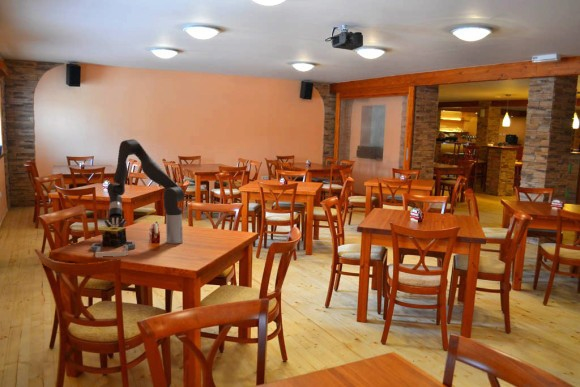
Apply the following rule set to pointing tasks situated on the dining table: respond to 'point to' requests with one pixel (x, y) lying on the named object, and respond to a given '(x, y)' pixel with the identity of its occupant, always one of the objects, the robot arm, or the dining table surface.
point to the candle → (114, 237)
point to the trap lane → (98, 247)
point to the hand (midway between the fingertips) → (115, 234)
